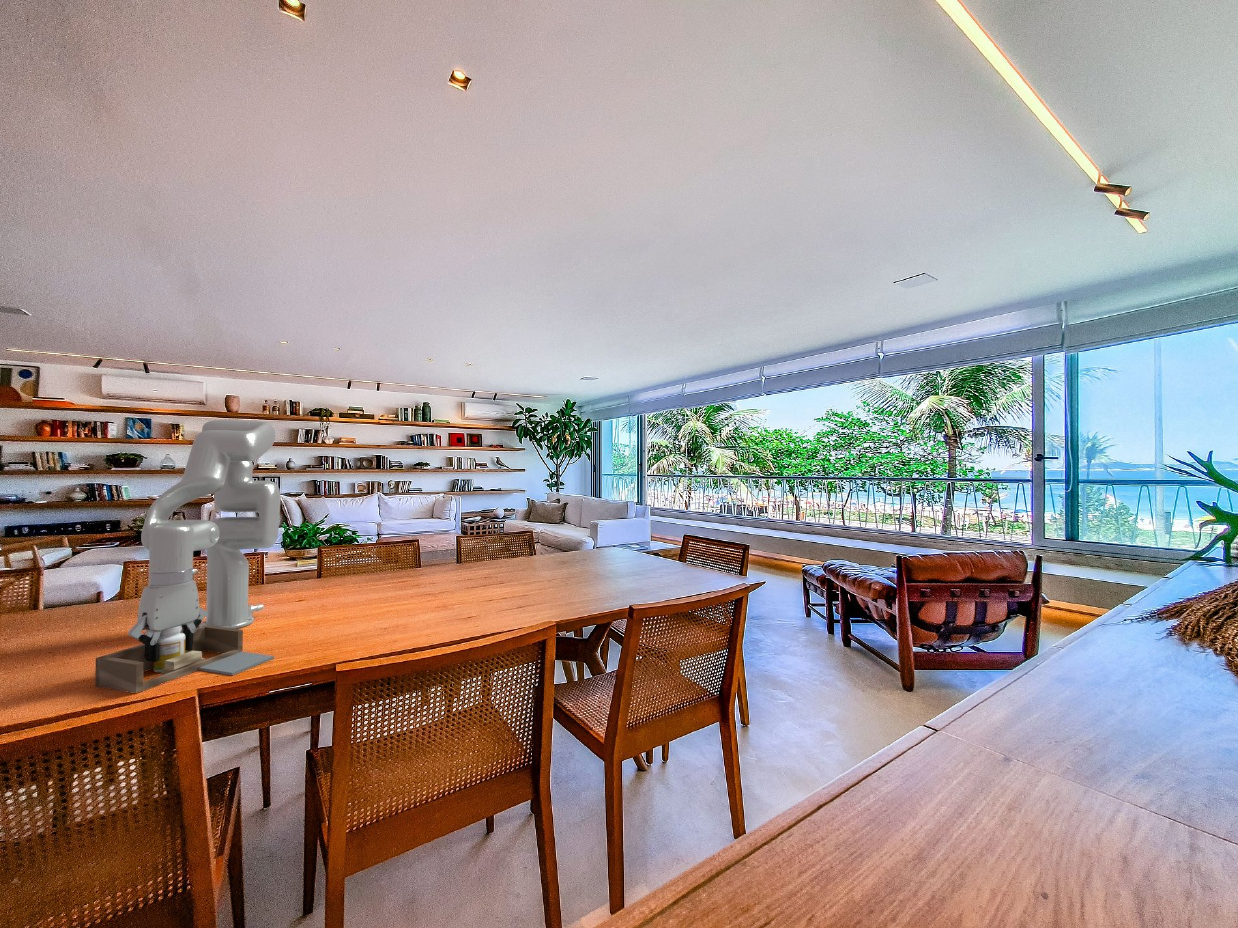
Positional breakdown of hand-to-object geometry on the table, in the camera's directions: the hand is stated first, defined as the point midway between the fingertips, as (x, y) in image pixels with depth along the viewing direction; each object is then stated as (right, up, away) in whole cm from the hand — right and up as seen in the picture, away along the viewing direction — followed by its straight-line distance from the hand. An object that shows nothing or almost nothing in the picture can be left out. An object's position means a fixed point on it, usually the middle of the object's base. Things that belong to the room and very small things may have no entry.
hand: (169, 654), depth 113 cm
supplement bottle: (0, -3, 0) cm, 3 cm away
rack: (+2, -3, 0) cm, 4 cm away
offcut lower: (+4, -4, -1) cm, 6 cm away
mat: (+14, -3, +3) cm, 14 cm away
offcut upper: (+5, -2, -1) cm, 5 cm away
